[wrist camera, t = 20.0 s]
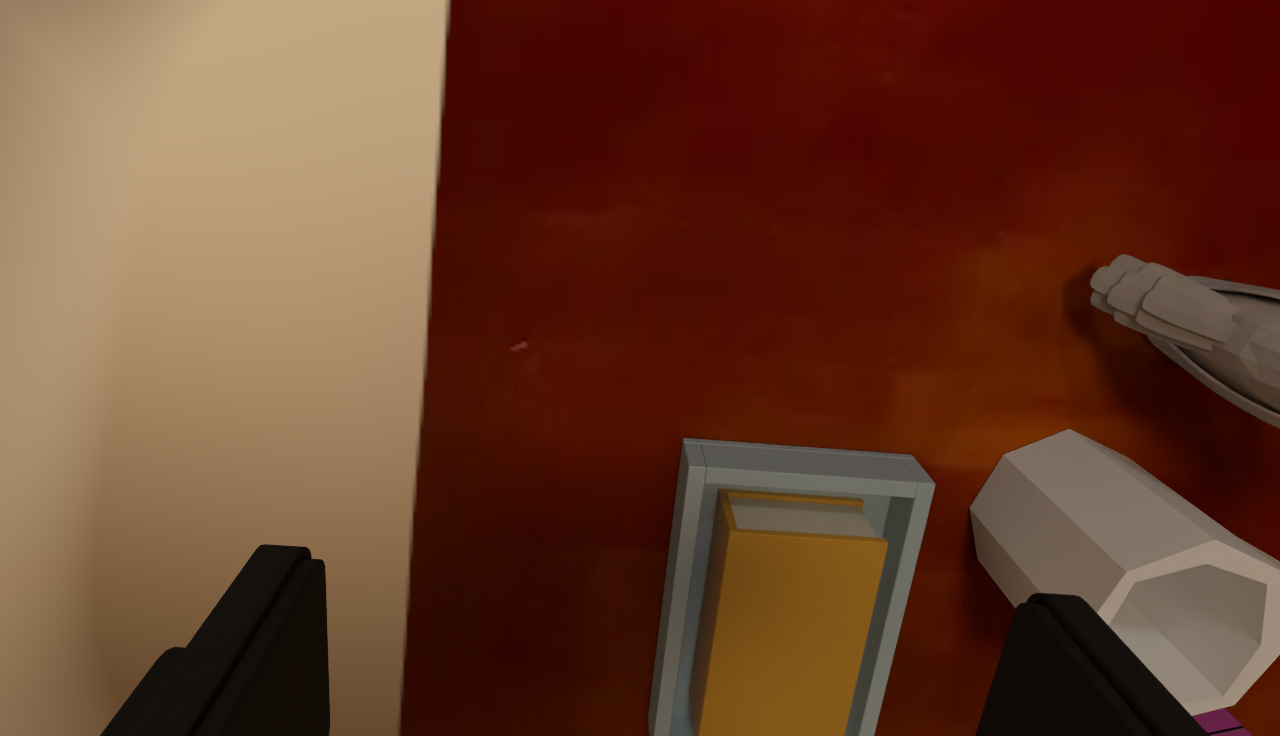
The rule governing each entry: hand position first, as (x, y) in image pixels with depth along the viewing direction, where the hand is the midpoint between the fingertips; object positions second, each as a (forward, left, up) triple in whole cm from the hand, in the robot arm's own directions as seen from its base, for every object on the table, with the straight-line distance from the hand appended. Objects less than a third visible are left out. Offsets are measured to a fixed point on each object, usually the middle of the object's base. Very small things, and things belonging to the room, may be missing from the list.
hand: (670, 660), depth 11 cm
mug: (+24, -11, -26) cm, 37 cm away
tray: (+9, -17, -26) cm, 32 cm away
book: (+9, -16, -25) cm, 31 cm away
